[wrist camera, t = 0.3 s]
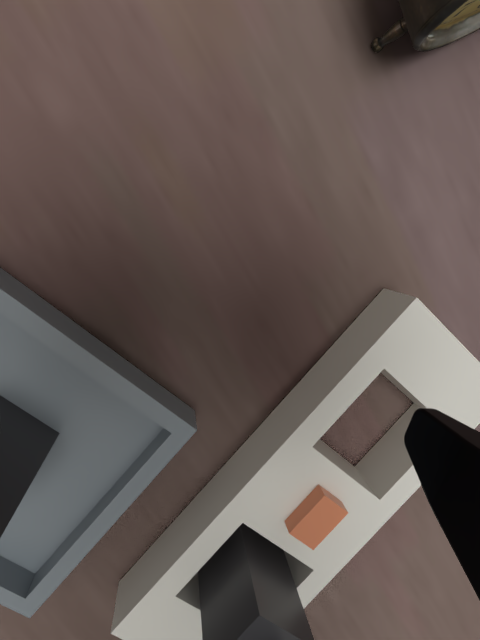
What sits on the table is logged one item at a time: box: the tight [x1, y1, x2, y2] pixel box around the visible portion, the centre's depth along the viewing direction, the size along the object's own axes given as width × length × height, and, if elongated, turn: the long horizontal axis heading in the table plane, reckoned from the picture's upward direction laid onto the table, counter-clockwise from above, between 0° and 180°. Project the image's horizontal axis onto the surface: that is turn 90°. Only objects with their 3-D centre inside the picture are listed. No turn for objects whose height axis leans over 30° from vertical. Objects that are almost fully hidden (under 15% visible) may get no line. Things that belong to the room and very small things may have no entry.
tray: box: [0, 268, 197, 618], centre depth 22 cm, size 15×15×2 cm
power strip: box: [111, 288, 480, 640], centre depth 24 cm, size 26×9×4 cm, turn 138°
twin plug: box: [198, 523, 314, 640], centre depth 22 cm, size 4×4×10 cm
